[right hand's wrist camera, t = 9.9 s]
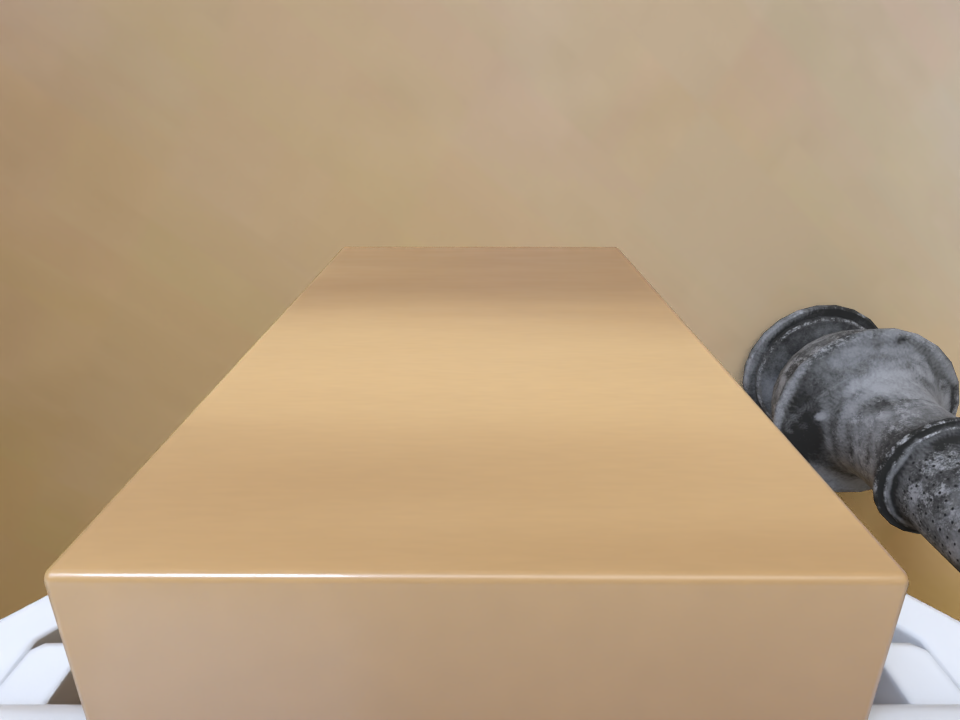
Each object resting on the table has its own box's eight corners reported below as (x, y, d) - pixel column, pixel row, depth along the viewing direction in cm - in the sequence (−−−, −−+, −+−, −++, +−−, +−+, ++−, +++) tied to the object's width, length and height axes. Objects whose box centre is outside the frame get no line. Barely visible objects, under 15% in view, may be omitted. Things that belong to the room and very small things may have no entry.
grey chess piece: (928, 357, 24) (1305, 574, 13) (810, 468, 26) (1056, 743, 15) (817, 264, 23) (1132, 418, 12) (702, 387, 25) (881, 622, 14)
